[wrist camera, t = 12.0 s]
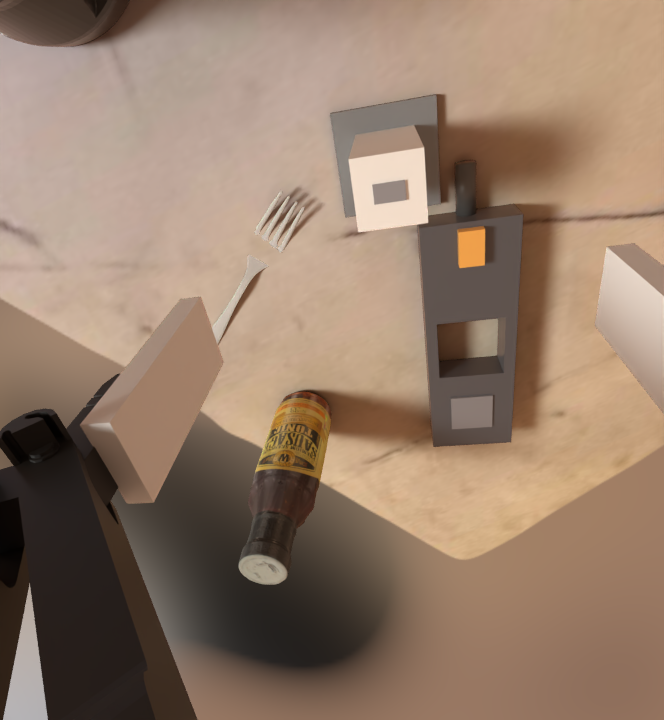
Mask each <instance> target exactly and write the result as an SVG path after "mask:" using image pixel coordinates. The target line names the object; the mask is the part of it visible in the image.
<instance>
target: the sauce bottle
mask: <svg viewBox="0 0 664 720" xmlns="http://www.w3.org/2000/svg"><path fill="white" fill-rule="evenodd" d="M330 419H331V410H330V407H329V405H328V403H327V402H326V401H325V400H324V399H323V398H321V397H319V396H318V395H316V394H313V393H310V392H305V391H302V392H296V393H293V394H291V395H288V396H286V397H285V398H284V400H283V401H282V402H281V404H280V406H279V407H278V408H277V410H276V413H275V416H274V419H273V422H272V425H271V428H270V431H269V434H268V436H267V439H266V442H265V445H264V448H263V451H262V454H261V457H260V460H259V463H258V465H257V468H256V471H255V475H254V479H253V483H252V487H251V492H250V495H249V500H248V504H249V507H250V509H251V512H252V515H253V521H252V528H251V532H250V535H249V539H248V542H247V544H246V545H245V546H244V548H243V550H242V553H241V556H240V561H239V569H240V571H241V573H242V574H243V575H244V576H245V577H247V578H248V579H250V580H252V581H254V582H257V583H260V584H270V585H273V584H278V583H281V582H282V581H284V580H285V579H286V578H287V576H288V574H289V569H290V566H291V556H290V554H291V549H292V544H293V540H294V537H295V535H296V529H297V528H298V527H300V526H301V525H302V524H303V523H304V522H305V519H306V518H307V516H308V515H309V513H310V512H311V511H312V510H313V508H314V503H315V497H316V492H317V490H318V488H319V483H320V478H321V473H322V468H323V463H324V458H325V453H326V447H327V441H328V436H329V431H330V425H331V420H330Z"/></svg>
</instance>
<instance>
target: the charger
mask: <svg viewBox="0 0 664 720" xmlns="http://www.w3.org/2000/svg"><path fill="white" fill-rule="evenodd" d="M348 160H349V167H350V175H351V182H352V190H353V197H354V204H355V212H356V219H357V226H358V232H364V231H372V230H379V229H387V228H394V227H402V226H409V225H416V224H424V223H428V209H427V191H426V172H425V154H424V146H423V144H422V141H421V139H420V137H419V135H418V133H417V131H416V128H415V126H414V125H411V126H405V127H399V128H393V129H387V130H381V131H375V132H369V133H363V134H357V135H355V139H354V142H353V146H352V149H351V152H350V156H349V159H348Z"/></svg>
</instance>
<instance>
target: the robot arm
mask: <svg viewBox="0 0 664 720" xmlns="http://www.w3.org/2000/svg"><path fill="white" fill-rule="evenodd" d="M128 2H129V0H0V34H2V35H4V36H7V37H9V38H11V39H14V40H17V41H20V42H24V43H27V44H32V45H37V46H52V47H68V46H76V45H81V44H85V43H87V42H90V41H92V40H94V39H96V38H98V37H99V36H101V35H102V34H104V33H105V32H106V31H108V30H109V29H110V28H111V27H112V26H113V25H114V24H115V22H116V21H117V20H118V19H119V17H120V16H121V14H122V13H123V11H124V10H125V8H126V6H127V4H128ZM595 327H596V328H597V329H598V331H599V332H600V333H601V334H602V336H603V337H604V338H605V340H606V341H607V342H608V343H609V345H610V346H611V347H612V348H613V350H614V351H615V352H616V354H617V355H618V356H619V357H620V359H621V360H622V361H623V363H624V364H625V365H626V366H627V368H628V369H629V370H630V372H631V373H632V374H633V375H634V377H635V378H636V379H637V381H638V382H639V383H640V384H641V386H642V387H643V388H644V390H645V391H646V392H647V393H648V395H649V396H650V397H651V399H652V400H653V401H654V402H655V404H656V405H657V406H658V408H659V409H660V410H661V411H662V413H663V414H664V266H663V265H662V264H661V263H659V262H658V261H657V260H656V259H654V258H653V257H652V256H650V255H649V254H648V253H646V252H645V251H644V250H642V249H641V248H640V247H638V246H637V245H636V244H635V243H632V244H624V245H616V246H608V247H607V248H606V255H605V261H604V268H603V275H602V281H601V288H600V294H599V301H598V308H597V314H596V321H595ZM223 363H224V361H223V359H222V356H221V353H220V350H219V347H218V344H217V342H216V339H215V336H214V333H213V330H212V327H211V324H210V322H209V319H208V316H207V313H206V310H205V307H204V304H203V302H202V299H201V297H194V298H186V299H180V300H179V302H178V303H177V304H176V305H175V307H174V308H173V309H172V310H171V312H170V313H169V314H168V315H167V317H166V318H165V319H164V320H163V322H162V323H161V324H160V325H159V327H158V328H157V329H156V330H155V332H154V333H153V334H152V335H151V337H150V338H149V339H148V340H147V342H146V343H145V344H144V345H143V347H142V348H141V349H140V350H139V352H138V353H137V354H136V355H135V357H134V358H133V359H132V360H131V362H130V363H129V364H128V365H127V367H126V368H125V369H124V370H123V372H122V373H121V374H117V375H115V376H114V377H113V378H111V379H110V380H109V381H107V382H106V383H104V384H103V385H102V386H101V388H100V389H99V390H98V391H97V392H96V394H95V395H94V398H91V400H90V401H89V402H88V403H87V405H86V407H85V408H83V409H82V411H81V412H80V413H79V414H78V415H77V417H76V418H75V419H74V420H73V421H72V423H71V424H70V425H69V426H68V427H67V429H66V428H65V427H64V425H63V424H62V422H61V420H60V419H59V417H58V415H57V414H56V413H55V412H54V411H53V410H51V409H40V410H34V411H32V412H29V413H26V414H23V415H22V416H20V417H18V418H16V419H14V420H12V421H11V422H10V423H8V424H7V425H6V426H5V427H3V428H2V430H1V431H0V448H1V449H2V450H3V452H4V453H5V454H6V456H7V457H8V459H9V460H10V461H11V463H12V464H13V465H14V466H11V467H8V468H4V469H1V470H0V720H3V715H4V711H5V706H6V701H7V696H8V691H9V685H10V679H11V675H12V670H13V665H14V660H15V655H16V650H17V644H18V639H19V634H20V629H21V624H22V619H23V614H24V609H25V603H26V598H27V593H28V588H29V583H30V587H31V595H32V602H33V610H34V617H35V625H36V632H37V640H38V647H39V655H40V661H41V669H42V678H43V685H44V692H45V700H46V708H47V715H48V720H197V717H196V715H195V712H194V709H193V707H192V704H191V702H190V699H189V696H188V694H187V691H186V689H185V686H184V683H183V681H182V678H181V676H180V673H179V671H178V668H177V666H176V663H175V660H174V658H173V655H172V652H171V650H170V647H169V645H168V642H167V640H166V637H165V635H164V632H163V629H162V627H161V624H160V622H159V619H158V616H157V614H156V611H155V609H154V606H153V604H152V601H151V598H150V596H149V593H148V590H147V588H146V585H145V583H144V580H143V578H142V575H141V572H140V570H139V567H138V565H137V562H136V559H135V557H134V554H133V552H132V549H131V547H130V544H129V541H128V539H127V536H126V534H125V531H124V528H123V526H122V523H121V521H120V518H119V515H118V513H117V510H116V508H115V507H114V505H113V503H112V502H111V499H112V497H113V495H114V494H115V492H116V490H117V489H118V490H119V491H120V493H121V494H122V496H123V498H124V499H125V501H126V503H127V504H132V503H152V502H154V501H155V499H156V497H157V495H158V493H159V491H160V489H161V487H162V485H163V483H164V481H165V479H166V477H167V475H168V472H169V471H170V469H171V467H172V464H173V463H174V461H175V459H176V457H177V454H178V453H179V451H180V449H181V447H182V445H183V443H184V441H185V439H186V437H187V434H188V433H189V431H190V429H191V427H192V425H193V423H194V421H195V419H196V417H197V415H198V413H199V411H200V409H201V407H202V405H203V403H204V401H205V399H206V397H207V395H208V393H209V391H210V389H211V387H212V385H213V383H214V381H215V379H216V377H217V375H218V373H219V371H220V369H221V367H222V365H223Z"/></svg>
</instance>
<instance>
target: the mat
mask: <svg viewBox="0 0 664 720" xmlns="http://www.w3.org/2000/svg"><path fill="white" fill-rule="evenodd" d="M330 117H331V124H332V130H333V137H334V144H335V150H336V157H337V164H338V171H339V177H340V184H341V191H342V197H343V204H344V211H345V217H353V216H356V212H355V204H354V197H353V190H352V182H351V175H350V167H349V160H348V159H349V156H350V152H351V149H352V146H353V142H354V139H355V135H357V134H363V133H369V132H375V131H381V130H387V129H393V128H399V127H405V126H411V125H414V126H415V128H416V131H417V133H418V135H419V137H420V139H421V141H422V144H423V146H424V154H425V172H426V191H427V206H431V205H438V204H441V198H440V173H439V148H438V123H437V98H436V94H435V95H429V96H424V97H418V98H413V99H407V100H401V101H396V102H390V103H384V104H379V105H373V106H368V107H362V108H356V109H351V110H345V111H340V112H334V113H330Z"/></svg>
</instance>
